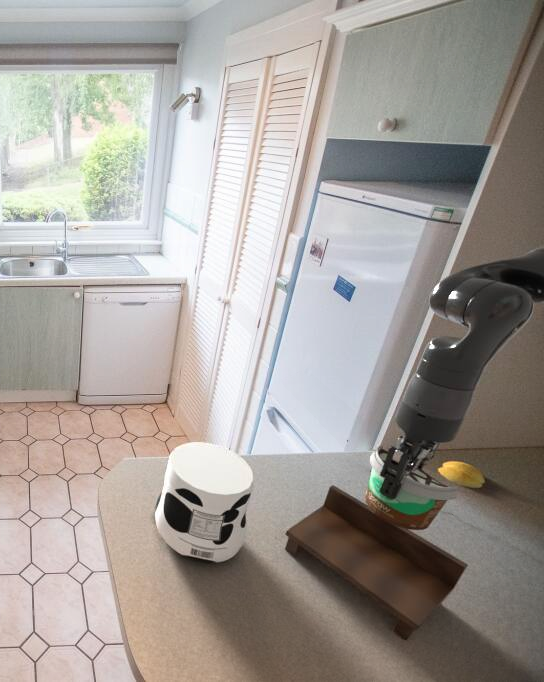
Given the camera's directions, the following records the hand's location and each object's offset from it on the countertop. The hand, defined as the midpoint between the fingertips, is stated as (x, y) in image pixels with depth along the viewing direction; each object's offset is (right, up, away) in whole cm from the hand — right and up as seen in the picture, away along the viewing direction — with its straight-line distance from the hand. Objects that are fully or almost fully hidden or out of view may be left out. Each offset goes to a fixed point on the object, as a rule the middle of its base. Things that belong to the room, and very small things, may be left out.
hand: (397, 487), depth 76 cm
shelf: (0, -19, +9) cm, 21 cm away
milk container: (-28, -16, +18) cm, 36 cm away
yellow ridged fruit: (+41, -9, +32) cm, 53 cm away
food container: (0, -5, +2) cm, 6 cm away
